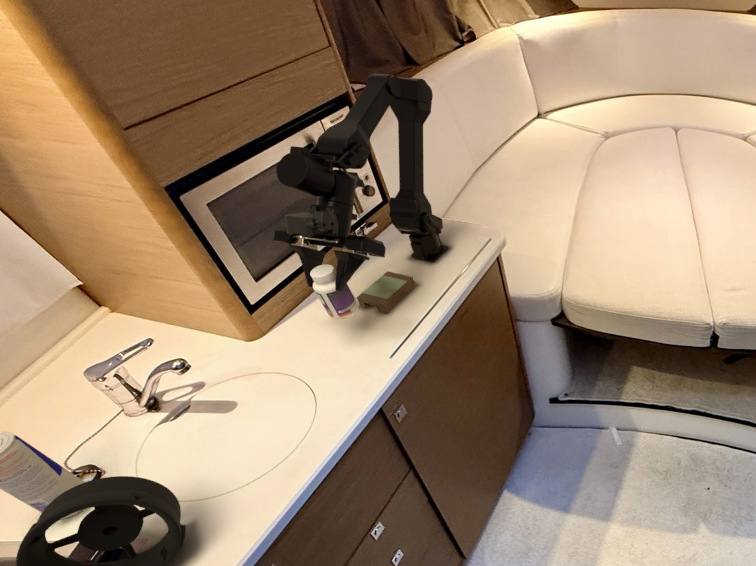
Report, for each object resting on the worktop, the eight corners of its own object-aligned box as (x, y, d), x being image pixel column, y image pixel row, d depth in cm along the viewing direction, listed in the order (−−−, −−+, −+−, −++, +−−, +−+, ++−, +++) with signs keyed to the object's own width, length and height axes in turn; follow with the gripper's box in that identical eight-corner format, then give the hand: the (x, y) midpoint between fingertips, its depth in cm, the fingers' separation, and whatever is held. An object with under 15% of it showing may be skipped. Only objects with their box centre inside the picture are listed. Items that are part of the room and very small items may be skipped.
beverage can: (106, 488, 80) (24, 431, 69) (74, 522, 76) (-18, 467, 65) (73, 485, 80) (-13, 428, 70) (40, 519, 76) (-57, 464, 66)
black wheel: (78, 447, 67) (59, 488, 60) (208, 475, 77) (205, 513, 69) (13, 542, 66) (-15, 595, 59) (153, 559, 76) (144, 606, 69)
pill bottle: (363, 301, 101) (342, 261, 95) (353, 319, 98) (330, 279, 91) (335, 302, 101) (312, 262, 94) (324, 320, 98) (300, 280, 91)
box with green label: (391, 279, 117) (387, 270, 116) (416, 285, 116) (412, 276, 114) (360, 306, 111) (355, 297, 109) (387, 313, 109) (382, 304, 107)
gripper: (251, 185, 87) (240, 276, 87) (349, 196, 84) (337, 290, 84) (304, 204, 98) (293, 284, 98) (392, 213, 95) (381, 296, 95)
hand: (324, 288), depth 94 cm, fingers closed on pill bottle, 5 cm apart
